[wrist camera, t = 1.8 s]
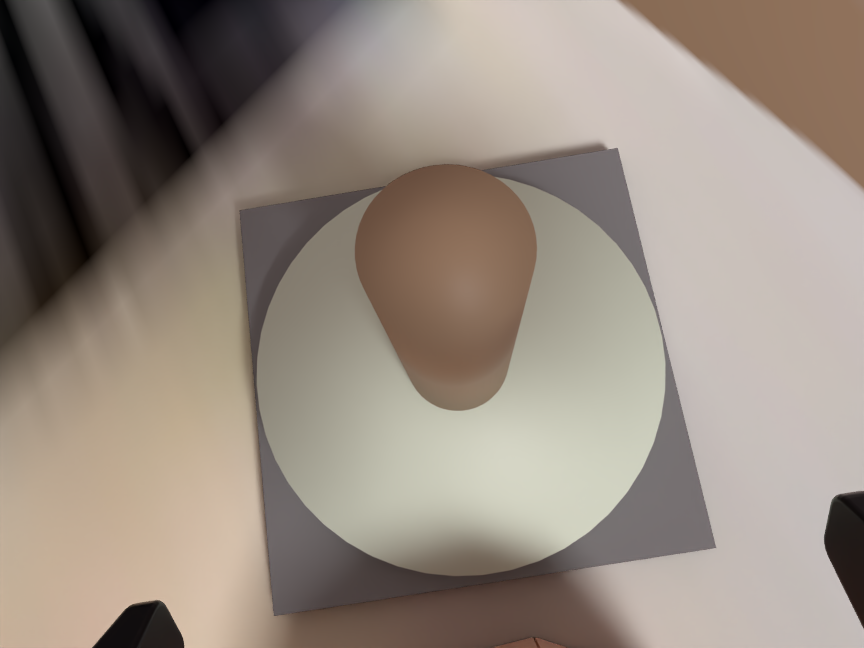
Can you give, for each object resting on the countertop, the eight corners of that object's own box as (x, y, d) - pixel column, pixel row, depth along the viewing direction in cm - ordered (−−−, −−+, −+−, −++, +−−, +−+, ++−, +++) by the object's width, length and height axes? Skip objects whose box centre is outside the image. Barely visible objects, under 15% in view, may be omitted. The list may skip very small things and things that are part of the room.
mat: (708, 546, 20) (716, 547, 19) (279, 612, 20) (273, 616, 19) (613, 156, 23) (617, 148, 22) (245, 217, 23) (239, 210, 23)
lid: (453, 669, 19) (432, 845, 9) (187, 361, 21) (-48, 246, 12) (742, 368, 20) (986, 248, 11) (462, 117, 23) (453, -161, 13)
